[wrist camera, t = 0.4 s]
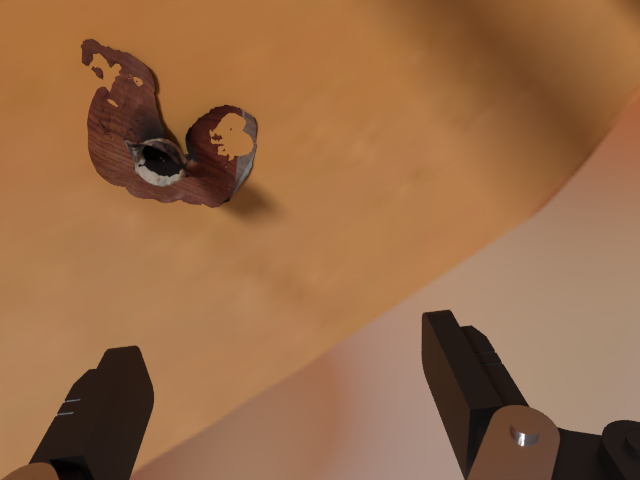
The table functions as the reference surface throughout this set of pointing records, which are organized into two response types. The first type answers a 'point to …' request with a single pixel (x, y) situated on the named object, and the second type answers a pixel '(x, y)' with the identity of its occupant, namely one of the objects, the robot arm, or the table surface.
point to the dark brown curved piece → (157, 141)
